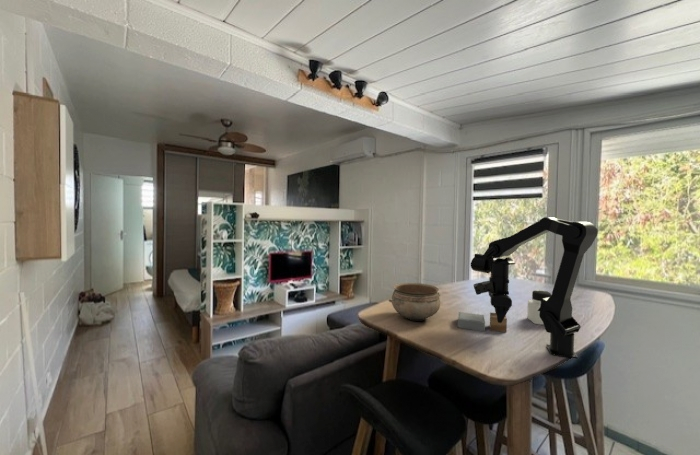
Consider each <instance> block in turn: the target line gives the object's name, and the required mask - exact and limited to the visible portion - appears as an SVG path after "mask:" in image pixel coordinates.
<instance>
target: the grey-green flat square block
mask: <svg viewBox="0 0 700 455" xmlns="http://www.w3.org/2000/svg"><path fill="white" fill-rule="evenodd" d="M485 320H486V319H485V314H479V313H472V312H471V313H469V312H462V311H458V316H457V328H459V329H467V330H473V331H481V332H486V331H485V330H486V321H485Z"/></svg>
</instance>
